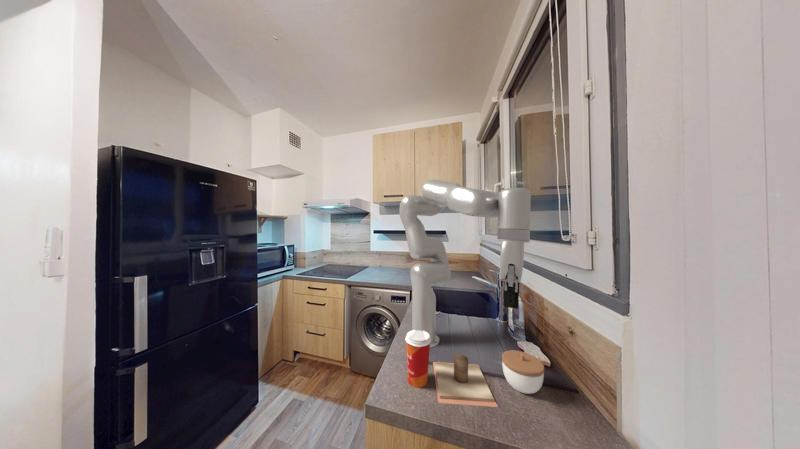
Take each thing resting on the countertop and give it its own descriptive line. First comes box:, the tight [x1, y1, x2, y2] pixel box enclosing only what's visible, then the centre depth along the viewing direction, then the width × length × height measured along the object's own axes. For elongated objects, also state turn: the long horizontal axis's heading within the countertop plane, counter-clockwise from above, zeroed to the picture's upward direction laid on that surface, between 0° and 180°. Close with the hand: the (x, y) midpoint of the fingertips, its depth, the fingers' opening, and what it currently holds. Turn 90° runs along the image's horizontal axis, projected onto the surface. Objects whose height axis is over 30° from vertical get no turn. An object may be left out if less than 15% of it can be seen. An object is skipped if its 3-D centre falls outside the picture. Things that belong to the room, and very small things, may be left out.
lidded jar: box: [501, 349, 545, 395], centre depth 63 cm, size 11×11×9 cm
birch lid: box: [434, 353, 495, 402], centre depth 64 cm, size 14×14×7 cm
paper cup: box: [404, 329, 431, 388], centre depth 64 cm, size 8×8×14 cm
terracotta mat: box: [432, 361, 499, 408], centre depth 64 cm, size 17×15×1 cm
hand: (511, 301), depth 57 cm, fingers open, 9 cm apart
